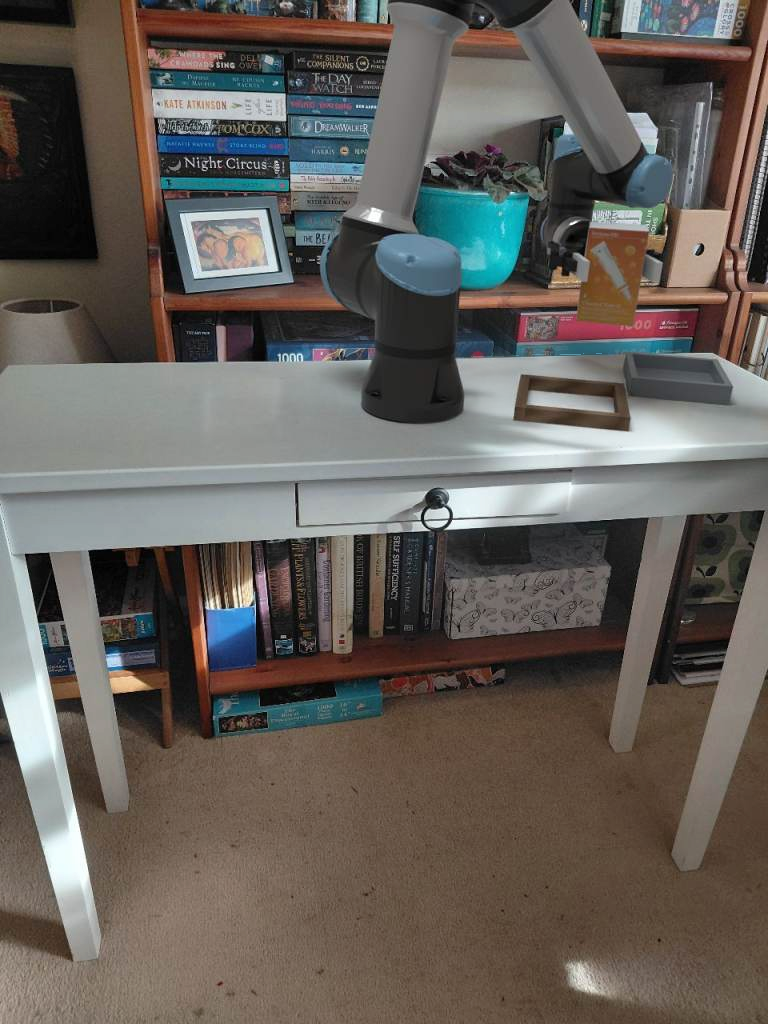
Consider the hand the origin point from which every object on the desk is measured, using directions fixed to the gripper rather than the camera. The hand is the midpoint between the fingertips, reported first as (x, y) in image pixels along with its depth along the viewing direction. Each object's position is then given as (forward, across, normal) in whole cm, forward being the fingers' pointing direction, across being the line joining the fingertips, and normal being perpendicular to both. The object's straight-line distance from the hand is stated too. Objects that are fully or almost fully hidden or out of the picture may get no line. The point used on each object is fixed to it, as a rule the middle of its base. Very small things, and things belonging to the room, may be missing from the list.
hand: (622, 272), depth 112 cm
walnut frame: (-3, +4, -20) cm, 21 cm away
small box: (-4, 0, -8) cm, 9 cm away
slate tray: (-14, -16, -20) cm, 29 cm away
